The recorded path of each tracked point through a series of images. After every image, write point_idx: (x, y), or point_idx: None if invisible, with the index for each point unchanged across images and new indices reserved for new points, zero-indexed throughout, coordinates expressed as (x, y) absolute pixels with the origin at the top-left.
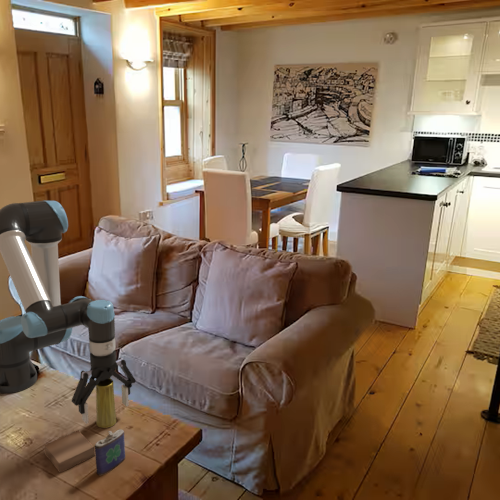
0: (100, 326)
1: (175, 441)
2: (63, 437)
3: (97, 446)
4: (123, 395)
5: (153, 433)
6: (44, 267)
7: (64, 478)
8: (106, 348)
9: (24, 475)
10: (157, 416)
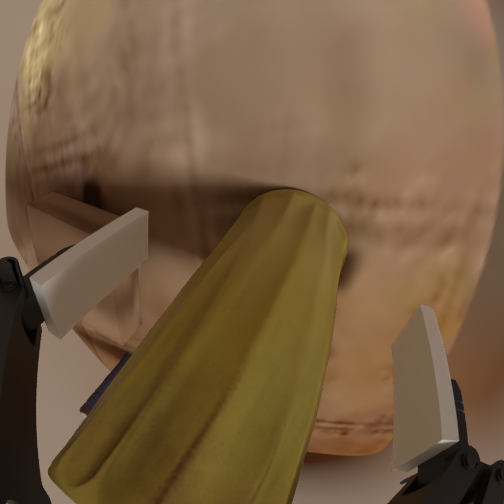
0: None
1: (324, 445)
2: (61, 226)
3: (83, 416)
4: (417, 375)
5: (328, 411)
6: None
7: None
8: None
9: (23, 218)
10: None
